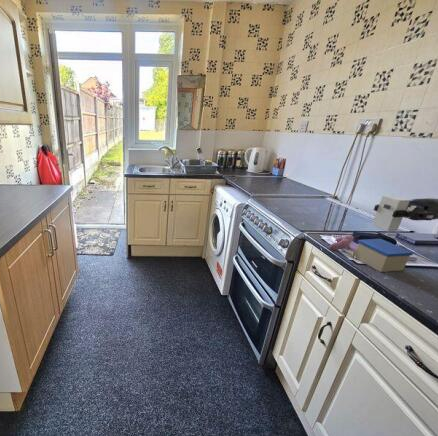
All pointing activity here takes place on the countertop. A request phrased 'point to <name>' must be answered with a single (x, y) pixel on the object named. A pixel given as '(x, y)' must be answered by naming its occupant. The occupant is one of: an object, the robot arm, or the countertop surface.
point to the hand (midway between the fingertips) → (384, 210)
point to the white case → (389, 213)
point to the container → (382, 255)
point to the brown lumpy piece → (342, 242)
